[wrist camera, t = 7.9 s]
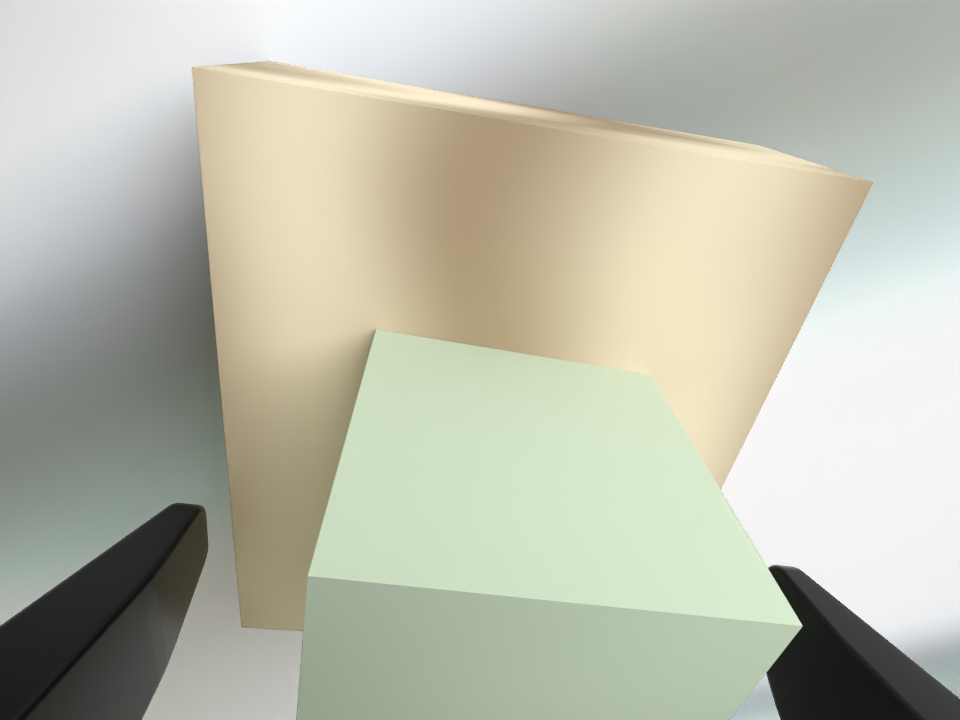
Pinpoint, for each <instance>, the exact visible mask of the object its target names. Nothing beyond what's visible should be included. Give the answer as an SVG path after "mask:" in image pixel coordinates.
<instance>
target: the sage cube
mask: <svg viewBox="0 0 960 720" xmlns="http://www.w3.org/2000/svg"><path fill="white" fill-rule="evenodd" d="M801 628H802V624H801V622H800V621H799V619H798V617H797V616H796V614H795V612H794V611H793V609H792V607H791V606H790V604H789V602H788V601H787V599H786V597H785V596H784V594H783V592H782V591H781V589H780V587H779V586H778V584H777V582H776V581H775V579H774V577H773V576H772V574H771V573H770V571H769V569H768V568H767V566H766V564H765V563H764V561H763V559H762V558H761V556H760V554H759V553H758V551H757V549H756V548H755V546H754V544H753V543H752V541H751V539H750V538H749V536H748V534H747V533H746V531H745V529H744V528H743V526H742V524H741V523H740V521H739V519H738V518H737V516H736V514H735V513H734V511H733V510H732V508H731V506H730V505H729V503H728V501H727V500H726V498H725V496H724V495H723V493H722V491H721V490H720V488H719V486H718V485H717V483H716V481H715V480H714V478H713V476H712V475H711V473H710V471H709V470H708V468H707V466H706V465H705V463H704V461H703V460H702V458H701V456H700V455H699V453H698V452H697V450H696V448H695V447H694V445H693V443H692V442H691V440H690V438H689V437H688V435H687V433H686V432H685V430H684V428H683V427H682V425H681V423H680V422H679V420H678V418H677V417H676V415H675V413H674V412H673V410H672V408H671V407H670V405H669V403H668V402H667V400H666V398H665V397H664V395H663V394H662V392H661V390H660V389H659V387H658V385H657V384H656V382H655V380H654V379H653V377H652V375H649V374H643V373H637V372H631V371H626V370H620V369H614V368H608V367H602V366H596V365H590V364H584V363H578V362H572V361H566V360H560V359H553V358H547V357H541V356H535V355H529V354H523V353H517V352H511V351H505V350H499V349H493V348H487V347H480V346H474V345H468V344H462V343H456V342H450V341H444V340H438V339H432V338H426V337H420V336H414V335H408V334H401V333H395V332H389V331H383V330H377V329H376V331H375V335H374V338H373V342H372V346H371V349H370V353H369V356H368V360H367V364H366V367H365V371H364V375H363V378H362V382H361V385H360V389H359V393H358V396H357V400H356V403H355V407H354V411H353V414H352V418H351V422H350V425H349V429H348V432H347V436H346V440H345V443H344V447H343V450H342V454H341V458H340V461H339V465H338V469H337V472H336V476H335V479H334V483H333V487H332V490H331V494H330V497H329V501H328V505H327V508H326V512H325V516H324V519H323V523H322V526H321V530H320V534H319V537H318V541H317V544H316V548H315V552H314V555H313V559H312V563H311V566H310V570H309V573H308V580H307V592H306V604H305V617H304V629H303V642H302V654H301V666H300V679H299V691H298V704H297V716H296V720H730V718H731V717H732V716H733V715H734V713H735V712H736V711H737V709H738V708H739V707H740V706H741V704H742V703H743V702H744V700H745V699H746V698H747V697H748V695H749V694H750V693H751V692H752V690H753V689H754V688H755V686H756V685H757V684H758V683H759V681H760V680H761V679H762V678H763V676H764V675H765V674H766V672H767V671H768V670H769V669H770V667H771V666H772V665H773V663H774V662H775V661H776V660H777V658H778V657H779V656H780V655H781V653H782V652H783V651H784V649H785V648H786V647H787V646H788V644H789V643H790V642H791V641H792V639H793V638H794V637H795V635H796V634H797V633H798V632H799V630H800V629H801Z"/></svg>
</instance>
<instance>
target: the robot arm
mask: <svg viewBox="0 0 960 720" xmlns="http://www.w3.org/2000/svg"><path fill="white" fill-rule="evenodd" d="M207 552H208V533H207V521H206V512H205V509H204V507H203V506H200V505H194V504H184V503H175V504H172V505H170V506H168V507H167V508H165V509H164V510H163V511H161V512H160V513H158V514H157V515H156V516H154V517H153V518H151V519H150V520H149V521H147V522H146V523H144V524H143V525H142V526H140V527H139V528H137V529H136V530H135V531H133V532H132V533H130V534H129V535H128V536H126V537H125V538H123V539H122V540H120V541H119V542H118V543H116V544H115V545H113V546H112V547H111V548H109V549H108V550H106V551H105V552H104V553H102V554H101V555H99V556H98V557H97V558H95V559H94V560H92V561H91V562H90V563H88V564H87V565H85V566H84V567H82V568H81V569H80V570H78V571H77V572H75V573H74V574H73V575H71V576H70V577H68V578H67V579H66V580H64V581H63V582H61V583H60V584H59V585H57V586H56V587H54V588H53V589H52V590H50V591H49V592H47V593H46V594H44V595H43V596H42V597H40V598H39V599H37V600H36V601H35V602H33V603H32V604H30V605H29V606H28V607H26V608H25V609H23V610H22V611H21V612H19V613H18V614H16V615H15V616H14V617H12V618H11V619H9V620H8V621H7V622H5V623H4V624H2V625H1V626H0V720H142V718H143V716H144V714H145V712H146V710H147V708H148V706H149V704H150V702H151V699H152V697H153V695H154V693H155V691H156V689H157V687H158V685H159V683H160V681H161V678H162V676H163V674H164V672H165V670H166V667H167V665H168V663H169V660H170V657H171V655H172V652H173V649H174V647H175V644H176V641H177V638H178V636H179V633H180V630H181V627H182V625H183V622H184V619H185V616H186V613H187V611H188V608H189V605H190V602H191V599H192V597H193V594H194V591H195V588H196V586H197V583H198V580H199V577H200V574H201V572H202V569H203V566H204V563H205V560H206V557H207ZM768 569H769V571H770V573H771V574H772V576H773V577H774V579H775V581H776V582H777V584H778V586H779V587H780V589H781V591H782V592H783V594H784V596H785V597H786V599H787V601H788V602H789V604H790V606H791V607H792V609H793V611H794V612H795V614H796V616H797V617H798V619H799V621H800V622H801V624H802V628H801V629H800V630H799V632H798V633H797V634H796V635H795V637H794V638H793V639H792V641H791V642H790V643H789V644H788V646H787V647H786V648H785V649H784V651H783V652H782V653H781V655H780V656H779V657H778V658H777V660H776V661H775V662H774V663H773V665H772V666H771V667H770V669H769V670H768V671H767V672H766V673H767V677H768V681H769V684H770V688H771V691H772V695H773V698H774V701H775V704H776V708H777V710H778V713H779V716H780V719H781V720H960V699H959V698H958V697H957V696H956V695H954V694H953V693H952V692H951V691H949V690H948V689H947V688H946V687H945V686H943V685H942V684H941V683H940V682H938V681H937V680H936V679H935V678H933V677H932V676H931V675H930V674H928V673H927V672H926V671H925V670H924V669H922V668H921V667H920V666H919V665H917V664H916V663H915V662H914V661H912V660H911V659H910V658H909V657H907V656H906V655H905V654H904V653H903V652H901V651H900V650H899V649H898V648H896V647H895V646H894V645H893V644H891V643H890V642H889V641H888V640H886V639H885V638H884V637H883V636H882V635H880V634H879V633H878V632H877V631H875V630H874V629H873V628H872V627H870V626H869V625H868V624H867V623H865V622H864V621H863V620H862V619H861V618H859V617H858V616H857V615H856V614H854V613H853V612H852V611H851V610H849V609H848V608H847V607H846V606H844V605H843V604H842V603H841V602H840V601H838V600H837V599H836V598H835V597H833V596H832V595H831V594H830V593H828V592H827V591H826V590H825V589H823V588H822V587H821V586H820V585H819V584H817V583H816V582H815V581H814V580H812V579H811V578H810V577H809V576H807V575H806V574H805V573H804V572H802V571H801V570H800V569H798V568H795V567H790V566H780V565H772V566H771V567H769V568H768Z"/></svg>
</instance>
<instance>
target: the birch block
mask: <svg viewBox="0 0 960 720" xmlns="http://www.w3.org/2000/svg"><path fill="white" fill-rule="evenodd" d="M192 73H193V85H194V96H195V107H196V118H197V130H198V141H199V152H200V164H201V175H202V186H203V197H204V209H205V220H206V231H207V243H208V254H209V265H210V276H211V288H212V299H213V310H214V322H215V333H216V344H217V355H218V367H219V378H220V389H221V401H222V412H223V423H224V434H225V446H226V457H227V468H228V480H229V491H230V502H231V513H232V525H233V536H234V547H235V559H236V570H237V581H238V592H239V604H240V615H241V626H242V627H247V628H263V629H279V630H294V631H303V629H304V617H305V604H306V592H307V580H308V573H309V570H310V566H311V563H312V559H313V555H314V552H315V548H316V544H317V541H318V537H319V534H320V530H321V526H322V523H323V519H324V516H325V512H326V508H327V505H328V501H329V497H330V494H331V490H332V487H333V483H334V479H335V476H336V472H337V469H338V465H339V461H340V458H341V454H342V450H343V447H344V443H345V440H346V436H347V432H348V429H349V425H350V422H351V418H352V414H353V411H354V407H355V403H356V400H357V396H358V393H359V389H360V385H361V382H362V378H363V375H364V371H365V367H366V364H367V360H368V356H369V353H370V349H371V346H372V342H373V338H374V335H375V331H376V329H377V330H383V331H389V332H395V333H401V334H408V335H414V336H420V337H426V338H432V339H438V340H444V341H450V342H456V343H462V344H468V345H474V346H480V347H487V348H493V349H499V350H505V351H511V352H517V353H523V354H529V355H535V356H541V357H547V358H553V359H560V360H566V361H572V362H578V363H584V364H590V365H596V366H602V367H608V368H614V369H620V370H626V371H631V372H637V373H643V374H649V375H652V377H653V379H654V380H655V382H656V384H657V385H658V387H659V389H660V390H661V392H662V394H663V395H664V397H665V398H666V400H667V402H668V403H669V405H670V407H671V408H672V410H673V412H674V413H675V415H676V417H677V418H678V420H679V422H680V423H681V425H682V427H683V428H684V430H685V432H686V433H687V435H688V437H689V438H690V440H691V442H692V443H693V445H694V447H695V448H696V450H697V452H698V453H699V455H700V456H701V458H702V460H703V461H704V463H705V465H706V466H707V468H708V470H709V471H710V473H711V475H712V476H713V478H714V480H715V481H716V483H717V485H718V486H719V488H720V490H721V488H722V486H723V484H724V482H725V480H726V478H727V476H728V474H729V472H730V470H731V468H732V466H733V464H734V462H735V460H736V458H737V456H738V454H739V452H740V449H741V447H742V445H743V443H744V441H745V439H746V437H747V435H748V433H749V431H750V429H751V427H752V425H753V423H754V421H755V419H756V417H757V415H758V413H759V411H760V409H761V407H762V405H763V403H764V401H765V399H766V397H767V395H768V393H769V391H770V389H771V387H772V385H773V383H774V381H775V379H776V377H777V375H778V373H779V371H780V369H781V367H782V365H783V363H784V361H785V359H786V357H787V355H788V353H789V351H790V349H791V347H792V345H793V343H794V341H795V339H796V337H797V335H798V333H799V331H800V329H801V327H802V325H803V323H804V321H805V319H806V317H807V315H808V313H809V311H810V309H811V307H812V305H813V303H814V301H815V299H816V297H817V295H818V293H819V291H820V289H821V287H822V285H823V282H824V280H825V278H826V276H827V274H828V272H829V270H830V268H831V266H832V264H833V262H834V260H835V258H836V256H837V254H838V252H839V250H840V248H841V246H842V244H843V242H844V240H845V238H846V236H847V234H848V232H849V230H850V228H851V226H852V224H853V222H854V220H855V218H856V216H857V214H858V212H859V210H860V208H861V206H862V204H863V202H864V200H865V198H866V196H867V194H868V192H869V190H870V188H871V186H872V184H873V182H871V181H868V180H864V179H861V178H858V177H855V176H852V175H849V174H846V173H843V172H840V171H837V170H834V169H831V168H827V167H824V166H821V165H818V164H815V163H812V162H809V161H806V160H803V159H800V158H797V157H794V156H790V155H787V154H784V153H781V152H778V151H775V150H772V149H769V148H766V147H763V146H759V145H753V144H747V143H742V142H736V141H730V140H724V139H718V138H713V137H707V136H701V135H695V134H689V133H684V132H678V131H672V130H666V129H661V128H655V127H649V126H643V125H637V124H632V123H626V122H620V121H614V120H608V119H603V118H597V117H591V116H585V115H579V114H574V113H568V112H562V111H556V110H551V109H545V108H539V107H533V106H527V105H522V104H516V103H510V102H504V101H498V100H493V99H487V98H481V97H475V96H469V95H464V94H458V93H452V92H446V91H441V90H435V89H429V88H423V87H417V86H412V85H406V84H400V83H394V82H388V81H383V80H377V79H371V78H365V77H359V76H354V75H348V74H342V73H336V72H331V71H325V70H319V69H313V68H307V67H302V66H296V65H290V64H284V63H278V62H273V61H268V62H255V63H241V64H227V65H214V66H200V67H192Z"/></svg>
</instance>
